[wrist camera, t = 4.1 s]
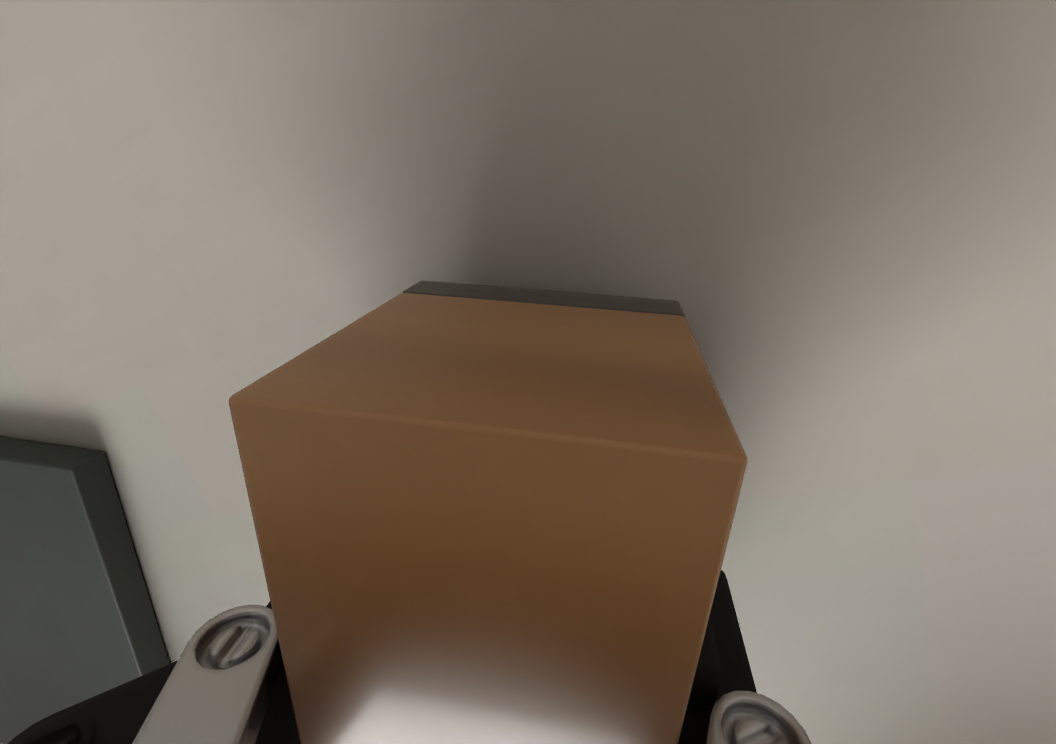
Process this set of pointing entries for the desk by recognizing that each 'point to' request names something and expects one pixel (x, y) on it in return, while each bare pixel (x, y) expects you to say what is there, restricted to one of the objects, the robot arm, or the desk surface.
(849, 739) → the desk surface
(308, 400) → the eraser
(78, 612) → the board
